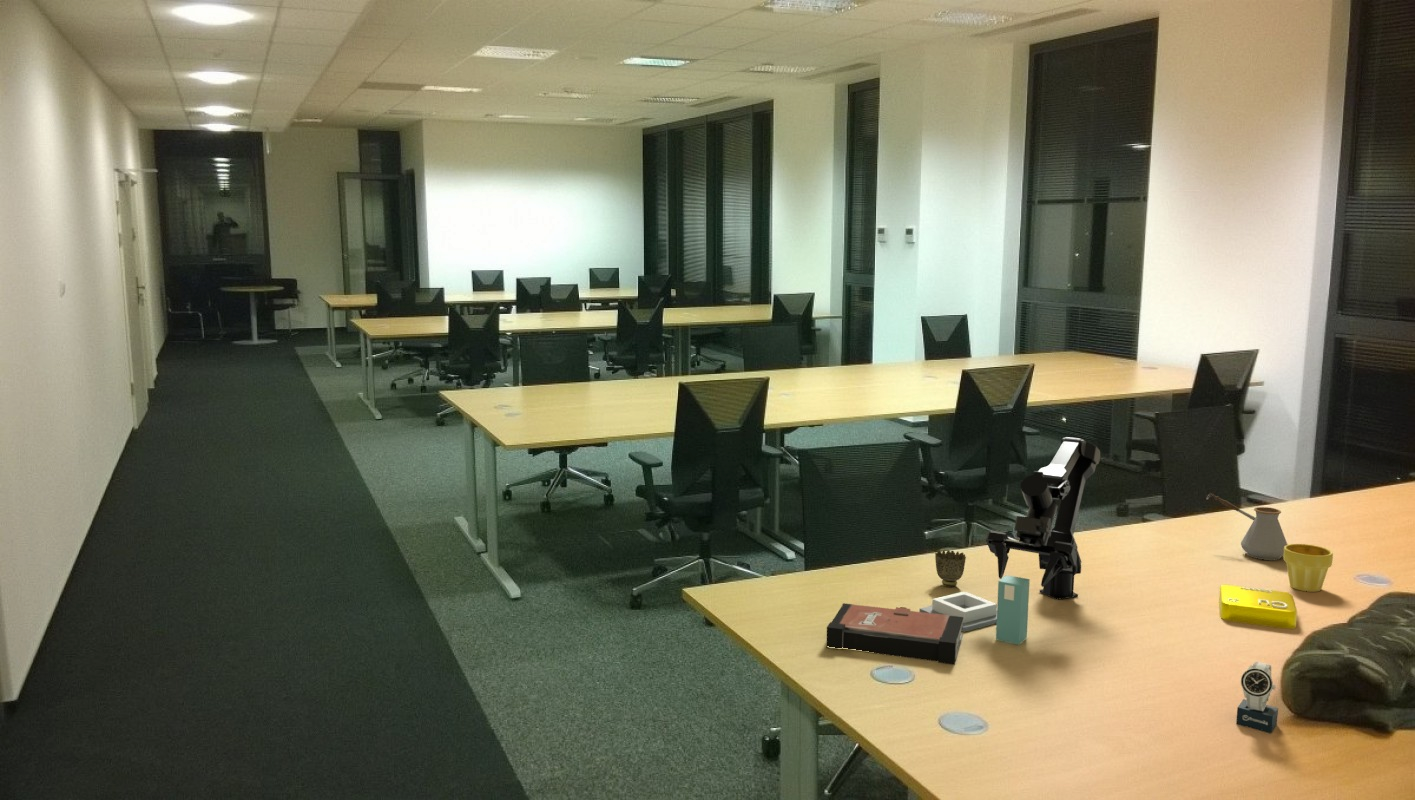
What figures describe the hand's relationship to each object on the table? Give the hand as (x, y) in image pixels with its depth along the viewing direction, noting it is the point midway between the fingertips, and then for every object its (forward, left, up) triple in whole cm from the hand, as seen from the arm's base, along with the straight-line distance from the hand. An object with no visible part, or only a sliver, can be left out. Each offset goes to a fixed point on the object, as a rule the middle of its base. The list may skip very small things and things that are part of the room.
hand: (1020, 581), depth 221 cm
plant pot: (-84, +4, -12) cm, 85 cm away
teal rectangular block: (+4, +2, -11) cm, 12 cm away
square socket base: (+5, -13, -11) cm, 18 cm away
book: (+27, -6, -12) cm, 30 cm away
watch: (-9, +51, -12) cm, 53 cm away
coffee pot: (-96, -23, -12) cm, 99 cm away
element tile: (-57, +12, -12) cm, 60 cm away
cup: (-5, -32, -12) cm, 34 cm away
